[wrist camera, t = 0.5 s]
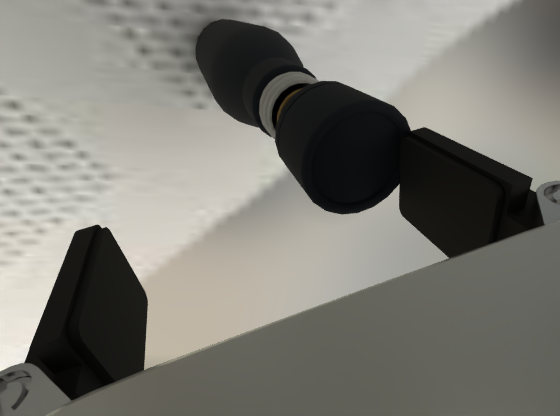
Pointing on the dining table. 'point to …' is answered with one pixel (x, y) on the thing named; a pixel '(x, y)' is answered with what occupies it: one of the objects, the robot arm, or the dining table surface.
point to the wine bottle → (305, 116)
